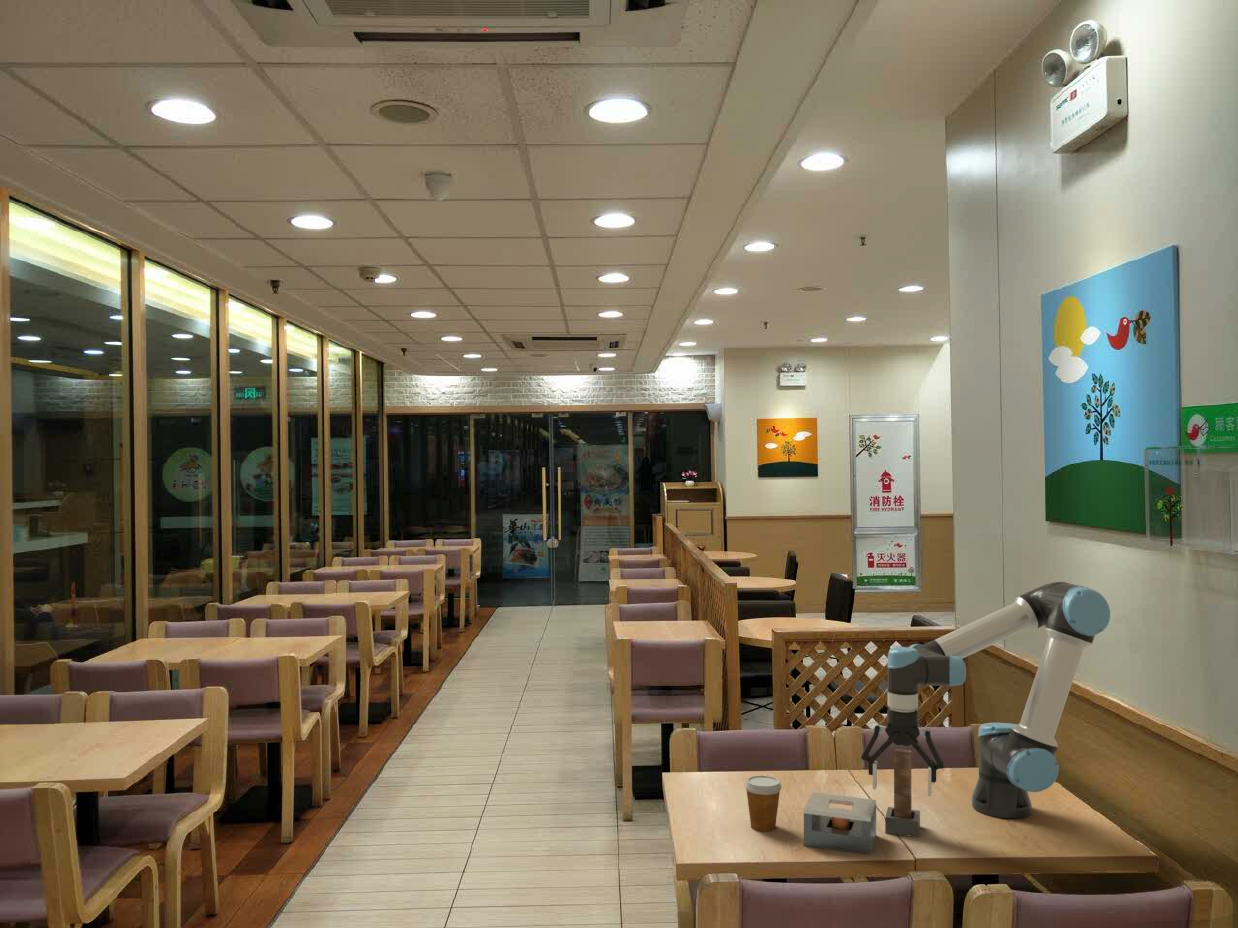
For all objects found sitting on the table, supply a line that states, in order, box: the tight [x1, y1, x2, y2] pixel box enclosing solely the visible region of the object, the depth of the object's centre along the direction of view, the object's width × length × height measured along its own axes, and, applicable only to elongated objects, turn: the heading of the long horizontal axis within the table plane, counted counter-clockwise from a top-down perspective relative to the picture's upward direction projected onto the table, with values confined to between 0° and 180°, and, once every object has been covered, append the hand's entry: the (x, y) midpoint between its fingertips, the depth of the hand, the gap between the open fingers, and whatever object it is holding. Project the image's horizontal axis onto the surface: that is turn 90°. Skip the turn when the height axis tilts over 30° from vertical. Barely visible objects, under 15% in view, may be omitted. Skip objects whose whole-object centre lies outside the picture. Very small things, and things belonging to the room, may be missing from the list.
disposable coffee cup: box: [744, 775, 782, 833], centre depth 246 cm, size 10×10×12 cm
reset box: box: [803, 791, 877, 856], centre depth 237 cm, size 16×13×9 cm
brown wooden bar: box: [893, 748, 913, 819], centre depth 244 cm, size 4×4×20 cm
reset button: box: [831, 817, 850, 830], centre depth 237 cm, size 4×4×4 cm
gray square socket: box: [884, 806, 921, 838], centre depth 244 cm, size 8×8×4 cm
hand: (901, 791), depth 244 cm, fingers open, 13 cm apart
